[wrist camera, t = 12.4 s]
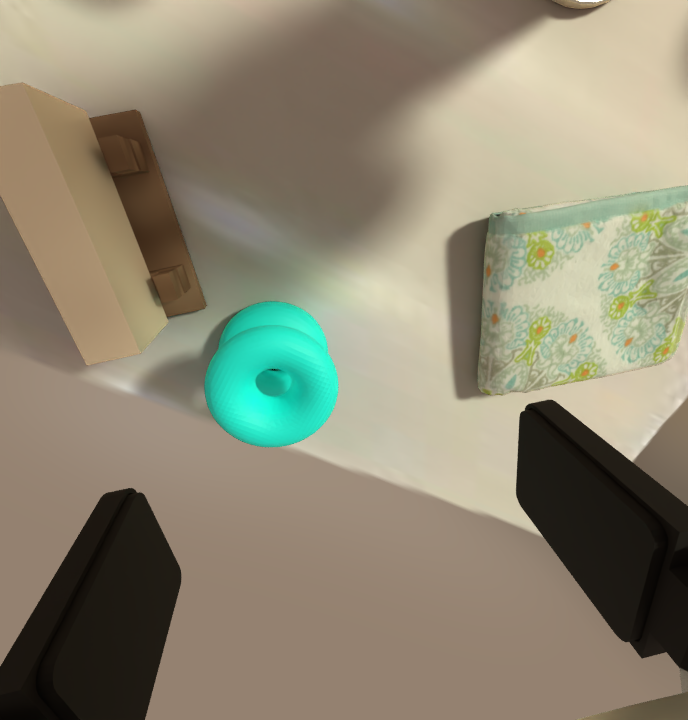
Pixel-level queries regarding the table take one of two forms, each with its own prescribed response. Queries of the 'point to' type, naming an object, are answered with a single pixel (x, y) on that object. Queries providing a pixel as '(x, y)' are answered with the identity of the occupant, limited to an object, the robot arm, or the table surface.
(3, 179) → the cream rectangular block
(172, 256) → the rack
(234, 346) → the donuts
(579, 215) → the towel
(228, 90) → the table surface
